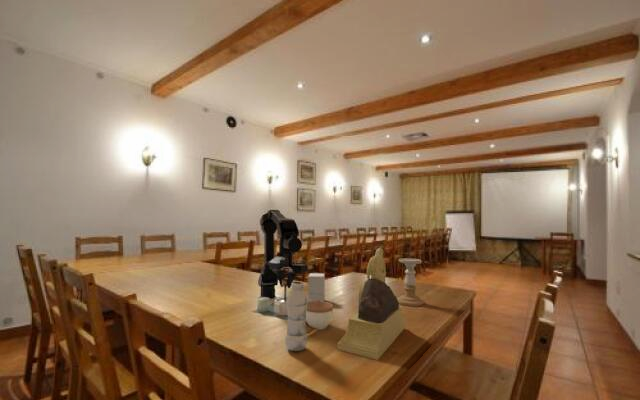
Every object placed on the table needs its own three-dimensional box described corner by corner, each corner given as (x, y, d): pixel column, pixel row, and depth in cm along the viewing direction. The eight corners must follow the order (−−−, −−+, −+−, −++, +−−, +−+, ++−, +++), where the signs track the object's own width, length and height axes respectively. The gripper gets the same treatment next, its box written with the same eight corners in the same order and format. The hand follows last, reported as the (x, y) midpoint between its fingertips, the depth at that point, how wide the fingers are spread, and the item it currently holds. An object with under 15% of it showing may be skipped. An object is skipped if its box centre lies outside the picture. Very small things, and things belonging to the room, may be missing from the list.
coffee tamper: (275, 302, 124) (275, 279, 125) (283, 298, 129) (284, 276, 130) (286, 304, 122) (287, 280, 122) (294, 300, 127) (295, 278, 127)
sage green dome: (254, 311, 126) (255, 299, 126) (262, 308, 130) (263, 296, 130) (264, 313, 123) (264, 301, 123) (271, 310, 127) (272, 298, 128)
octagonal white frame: (268, 314, 123) (268, 301, 123) (282, 307, 131) (283, 296, 131) (284, 317, 118) (285, 304, 119) (299, 311, 127) (299, 299, 127)
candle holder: (427, 306, 138) (427, 261, 139) (400, 306, 138) (400, 261, 139) (419, 299, 150) (419, 258, 151) (394, 298, 150) (394, 257, 151)
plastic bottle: (285, 345, 95) (286, 280, 96) (306, 344, 96) (307, 280, 97) (284, 354, 89) (286, 285, 90) (307, 354, 89) (308, 285, 90)
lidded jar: (311, 334, 104) (312, 306, 105) (299, 324, 114) (299, 298, 114) (338, 329, 109) (338, 302, 110) (324, 319, 119) (324, 295, 119)
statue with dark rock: (370, 322, 117) (371, 243, 118) (404, 329, 110) (404, 246, 112) (337, 349, 93) (338, 250, 94) (377, 360, 86) (378, 253, 88)
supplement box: (324, 299, 147) (325, 273, 147) (323, 304, 139) (323, 276, 140) (309, 299, 147) (310, 272, 148) (307, 303, 140) (308, 275, 141)
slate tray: (251, 313, 125) (251, 311, 125) (275, 303, 139) (275, 302, 139) (295, 323, 114) (295, 321, 114) (316, 311, 128) (316, 310, 128)
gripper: (255, 249, 124) (255, 288, 124) (293, 253, 115) (292, 295, 114) (273, 247, 134) (272, 283, 133) (309, 250, 125) (308, 289, 124)
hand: (285, 287), depth 126 cm, fingers closed on coffee tamper, 3 cm apart
